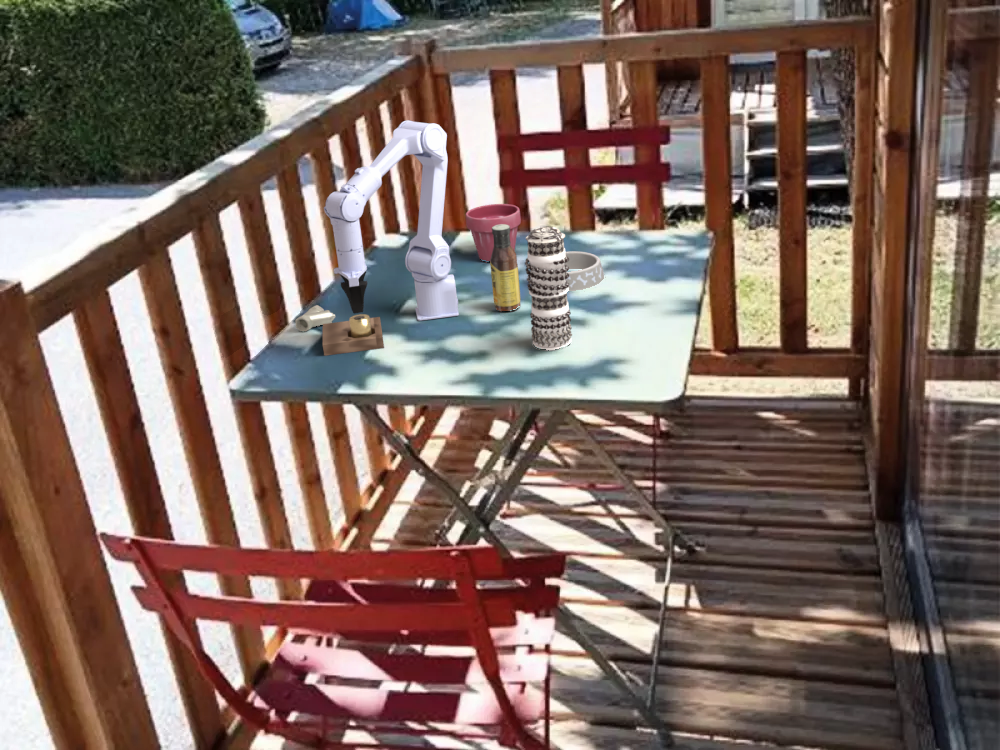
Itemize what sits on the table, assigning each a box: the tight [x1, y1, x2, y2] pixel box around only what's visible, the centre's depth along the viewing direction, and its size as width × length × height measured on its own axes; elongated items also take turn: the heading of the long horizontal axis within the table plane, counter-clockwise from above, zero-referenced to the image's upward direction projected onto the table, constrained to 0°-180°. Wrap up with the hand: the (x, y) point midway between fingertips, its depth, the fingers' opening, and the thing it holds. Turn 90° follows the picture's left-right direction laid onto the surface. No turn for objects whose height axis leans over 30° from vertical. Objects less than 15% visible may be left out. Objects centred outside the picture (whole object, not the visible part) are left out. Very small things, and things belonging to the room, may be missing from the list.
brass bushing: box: [348, 313, 372, 338], centre depth 249 cm, size 4×4×6 cm
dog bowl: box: [564, 250, 605, 291], centre depth 276 cm, size 17×18×5 cm
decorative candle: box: [524, 226, 573, 351], centre depth 236 cm, size 9×9×25 cm
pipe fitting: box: [294, 304, 336, 332], centre depth 262 cm, size 8×4×7 cm
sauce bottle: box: [489, 224, 521, 312], centre depth 259 cm, size 7×6×20 cm
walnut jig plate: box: [322, 316, 385, 357], centre depth 251 cm, size 13×13×2 cm
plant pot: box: [465, 203, 522, 261], centre depth 296 cm, size 14×14×13 cm
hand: (357, 307), depth 247 cm, fingers open, 6 cm apart
